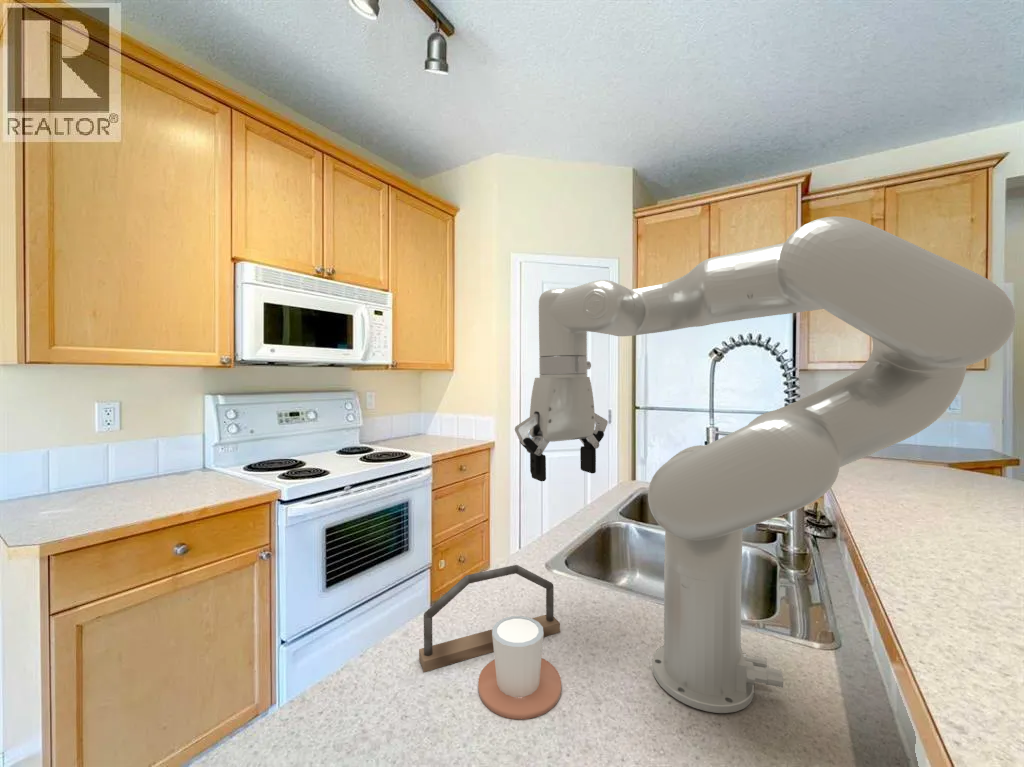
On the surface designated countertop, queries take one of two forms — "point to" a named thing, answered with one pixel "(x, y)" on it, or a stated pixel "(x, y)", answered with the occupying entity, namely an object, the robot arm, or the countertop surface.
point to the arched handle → (481, 641)
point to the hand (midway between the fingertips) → (564, 475)
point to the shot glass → (517, 655)
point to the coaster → (520, 706)
